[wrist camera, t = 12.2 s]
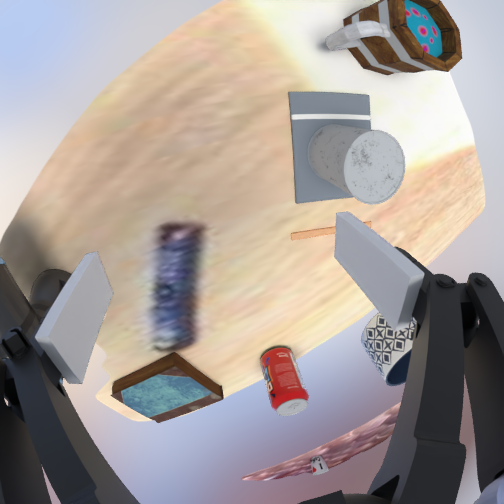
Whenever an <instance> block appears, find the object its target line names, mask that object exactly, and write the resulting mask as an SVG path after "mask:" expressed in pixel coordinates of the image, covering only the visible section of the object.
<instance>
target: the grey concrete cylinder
mask: <svg viewBox="0 0 504 504" xmlns="http://www.w3.org/2000/svg"><path fill="white" fill-rule="evenodd" d="M308 160H309V164H310V166H311V168H312V170H313V171H314V172H315V173H316V174H317V175H318V176H319V177H320V178H322V179H325V180H327V181H328V182H330V183H332V184H334V185H335V186H337V187H339V188H340V189H342V190H344V191H345V192H347V193H349V194H350V195H352V196H353V197H355V198H356V199H357V200H359V201H361V202H363V203H365V204H379V203H382V202H385V201H386V200H388V199H390V198H391V197H392V196H393V195H394V194H395V193H396V191H397V190H398V189H399V187H400V185H401V183H402V181H403V177H404V173H405V157H404V154H403V150H402V148H401V146H400V145H399V143H398V142H397V140H396V139H395V138H394V137H393V136H391V135H390V134H388V133H386V132H383V131H379V130H369V129H363V128H356V127H349V126H342V125H338V124H331V125H326V126H324V127H322V128H320V129H319V130H318V131H316V132H315V134H314V135H313V136H312V138H311V140H310V142H309V145H308Z"/></svg>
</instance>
